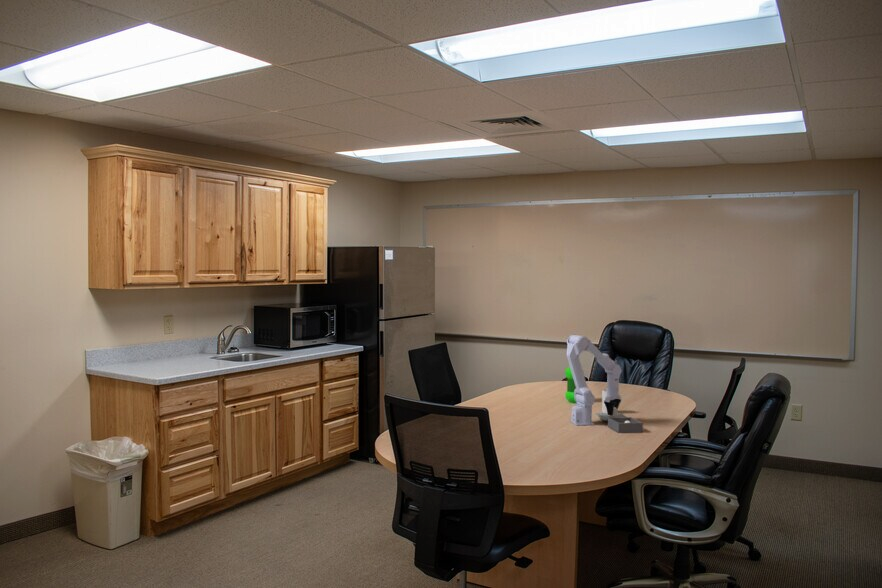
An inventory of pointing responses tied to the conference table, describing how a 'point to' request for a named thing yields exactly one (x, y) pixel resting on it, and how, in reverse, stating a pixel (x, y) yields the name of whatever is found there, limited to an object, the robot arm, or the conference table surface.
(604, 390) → the mug
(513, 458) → the conference table surface
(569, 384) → the plastic bottle
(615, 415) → the bin lid
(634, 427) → the bin
